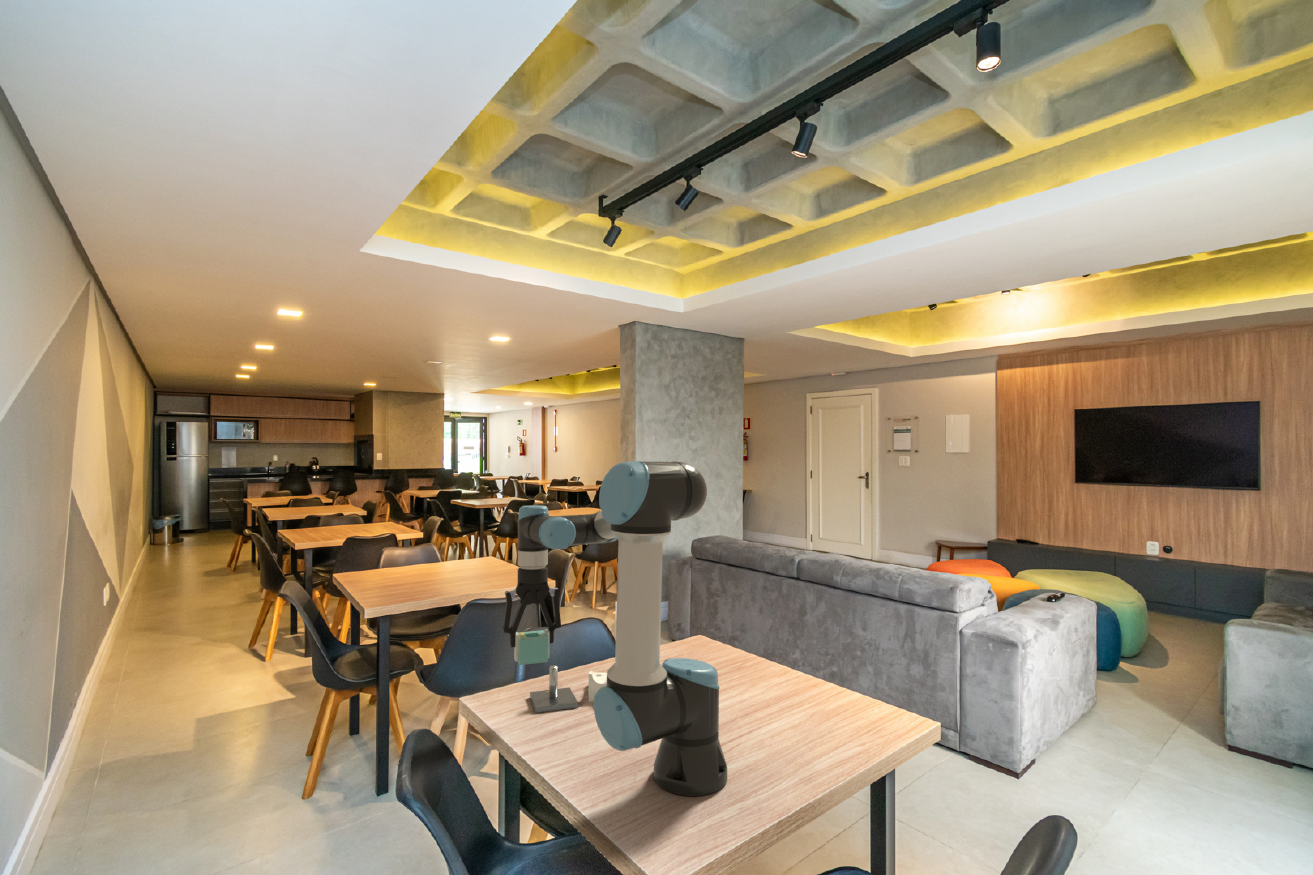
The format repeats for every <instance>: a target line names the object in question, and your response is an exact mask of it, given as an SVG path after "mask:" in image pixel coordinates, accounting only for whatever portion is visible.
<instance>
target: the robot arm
mask: <svg viewBox="0 0 1313 875" xmlns="http://www.w3.org/2000/svg"><path fill="white" fill-rule="evenodd" d="M598 496H599V497H598V498H599V500H598V505H599V511H596V512H595V513H587V514H567V515H566V514H565V515H550V514H549V508H548V506H546V505H541V504H540V505H534V504H533V505H532V504H531V505H522V506H521V507H519V509H518V519H517V546H518V547H517V566H518V569H517V585H516V587H515V589H513V590H510V591H509V590H505V592H504V595H505V600H506V601H505V608H504V614H503V622H502V631H503V633H505V634H509V646H510V648H513V649H514V650H513V659H514V662H516V663H517V662H518V650H519V634H518V633H519V631H518V629H519V626H520V623H521V620H522V617H523V614H524V613H525V610H526V608H527V606H529V605H533V604H534V605H539V607H540V611H541V613H542V616H543V618H544V621H545V623H546V626H547V629H544V632H545V633H546V635H547V636H548V659H550V647H551V646H550V645H551V644H553V643H554V641H555V639H554V638H555V636H554V634H555V633H554V632H555V630H556V629H560V628H561V627H562V621H561V610H560V602H559V597H560V593H561V590H560V589H559V588H558V587H557V586H556V587H551V586H550V585H549V583H548V575H549V574H548V572H549V571H548V570H549V568H548V567H547V565H548V564H549V560H548V559H549V549H551V550H565V549H567V548H568V547H574V546H583V545H593V544H595V545H597V544H608V543H612V542H616V541H617V540H618V548H617V552H618V554H617V579H616V580H617V582H616V583H617V586H616V622H615V623H616V624H615V651H614V652H615V655H614V656H615V659H614V660H615V661H614V663H613V664H612V665H611V666H610V667H609V668H608V669H607V671H606V673H607V686H605V687H601V688H600V689H599V690H598V691H597V693H596V694H595V697H594V701H593V714H594V718H595V721H596V724H597V728H598V730H599V731H600V734H601V736H602V737H603V739H604V740H605V742H606V743H607V745H609V746H610V747H611V748H613V749H614V750H617V751H621V752H625V751H628V750H631V749H640V748H641V747H642V746H644V745H648V744H651V743H653V742H657V741H659V740H660V743H659V747H658V750H657V753H656V756H655V759H654V763H653V780H654V783H656V785H658V787H660V788H661V789H662V790H664V791H666V792H668V793H671V794H674V795H678V796H685V797H700V796H707V795H711V794H713V793H716V792H718V791H720V790H721V789H722V788H724V787H725V786H726V784H727V782H728V765H727V762H726V759H725V755H724V751H723V749H722V745H721V742H720V738H719V735H720V734H719V733H720V732H719V725H720V724H719V717H720V716H719V714H720V712H719V710H720V708H719V706H720V705H719V704H720V702H719V700H720V693H719V692H720V686H719V674H718V670H717V669H716V667H714V666H713V665H712V664H710V663H707V662H706V661H703V660H698V659H695V658H694V659H693V658H686V657H673V658H667V659H664V661H663V662H662V664H660V661H661V660H660V657H661V656H660V655H661V652H660V651H661V625H662V624H661V623H662V621H661V618H662V617H661V616H662V588H663V587H662V586H663V584H662V583H663V582H662V581H663V580H662V578H663V550H664V548H663V547H664V546H663V545H664V544H663V543H664V540H665V539H666V538H667V537H668V536H669V535H670V534H671V533H672V532H671V531H672V521H674V522H675V521H678V520H683V519H688V518H690V517H692V516H694V515H696V514H698V512H699V511H701V510H702V508H703V506H704V505H705V502H706V501H707V496H708V487H707V483H706V480H705V478H704V476H703V474H701V472H700V471H699V470H698V469H697V468H696V467H694V466H693V465H691V464H689V463H687V462H682V461H648V460H647V461H645V460H643V461H640V460H636V461H635V460H634V461H633V460H632V461H623V462H619V463H616V464H614V465H613V466H612V467H611V468H609V470H608V472H607V473H606V474H605V475H604V477H603V480H602V482H601V486H600V489H599V495H598ZM548 593H549V595H550V597H551V602H552V611H553V621H554V622H553V621H552V618H551V616H550V613H549V611H548V608H547V605H546V604H547V603H546V602H545V600H544V599H545V598H546V596H547V595H548ZM516 595H517V596H518V598H519V599H520V601H519V603H518V607H517V610H516V613H515V615H514V618H513V621H512V623H511V626H510V622H511V615H512V609H513V600H514V599H515V598H516V597H515V596H516Z"/></svg>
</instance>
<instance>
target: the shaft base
mask: <svg viewBox="0 0 1313 875" xmlns="http://www.w3.org/2000/svg"><path fill="white" fill-rule="evenodd" d="M558 669H559V666H558V665H555V664H554V665H550V666H549V672H548V673H549V678H548V679H549V683H548V686H549V688H548V689H547V690H546V689H545V690H538V691H537V690H536V691H530V692H529V698H530V699H529V700H530V701H531V704H532V707H533V710H534V712H535V714H539V713H548V712H554V711H555V712H557V711H565V710H570V709H578V707H579V704H578V702H579V701H578V699H577V698H576V696H575V695H574V692H573V691H572V689H571V687H561V688H558V685H559V682H558V680H559V678H558V676H559V675H558V673H559V670H558Z"/></svg>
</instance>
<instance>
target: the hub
mask: <svg viewBox="0 0 1313 875" xmlns="http://www.w3.org/2000/svg"><path fill="white" fill-rule="evenodd" d="M518 634H519V650H518V661H517V663H518V665H519V666H523V665H525V666H526V665H531V664H540V663H541V664H542V663H543V664H544V663H548V662H549V658H548V636H547V635H546V633H545V629H544V630H531V631H522V632H521V631H518Z"/></svg>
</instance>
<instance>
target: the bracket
mask: <svg viewBox="0 0 1313 875" xmlns="http://www.w3.org/2000/svg"><path fill="white" fill-rule="evenodd" d="M605 686H607V672H594V671H593V670H589V672H588V702H594V697H595V694H596V693H597V691H598V690H599V689H600V688H601V687H605Z"/></svg>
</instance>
